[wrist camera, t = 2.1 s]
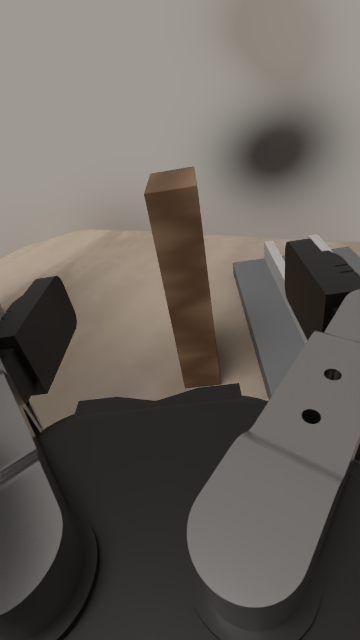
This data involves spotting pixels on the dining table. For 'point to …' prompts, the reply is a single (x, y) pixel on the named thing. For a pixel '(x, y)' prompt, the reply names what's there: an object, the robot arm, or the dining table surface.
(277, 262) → the track plinth
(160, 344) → the dining table surface
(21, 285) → the dining table surface
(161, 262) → the brown wooden block
